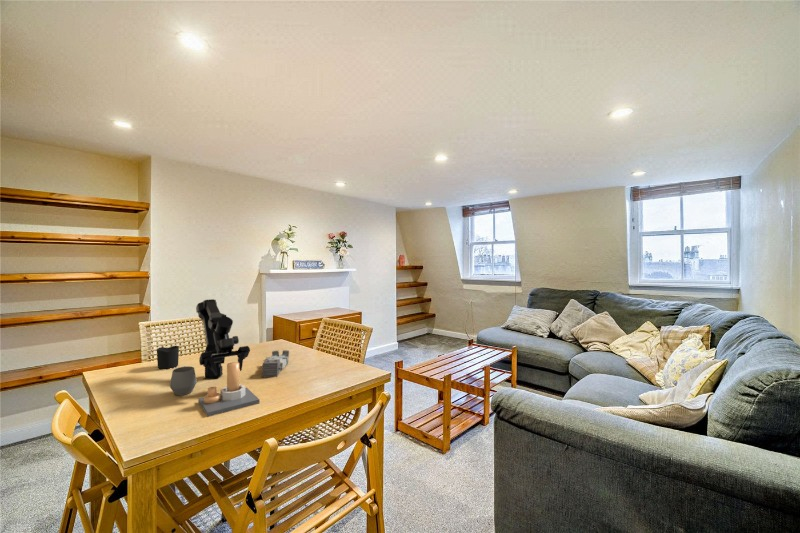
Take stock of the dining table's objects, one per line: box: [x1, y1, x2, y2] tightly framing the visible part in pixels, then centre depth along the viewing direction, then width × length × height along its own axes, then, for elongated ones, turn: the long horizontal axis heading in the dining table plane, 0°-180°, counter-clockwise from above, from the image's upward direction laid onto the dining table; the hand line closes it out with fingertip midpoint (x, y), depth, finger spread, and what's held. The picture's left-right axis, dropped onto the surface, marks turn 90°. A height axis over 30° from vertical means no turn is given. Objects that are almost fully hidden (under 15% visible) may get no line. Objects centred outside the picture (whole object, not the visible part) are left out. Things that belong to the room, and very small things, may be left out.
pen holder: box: [156, 345, 180, 370], centre depth 176 cm, size 9×9×10 cm
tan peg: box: [226, 361, 240, 392], centre depth 137 cm, size 4×4×13 cm
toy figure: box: [261, 349, 290, 378], centre depth 178 cm, size 11×7×30 cm
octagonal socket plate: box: [198, 384, 260, 417], centre depth 134 cm, size 16×18×6 cm
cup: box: [169, 365, 197, 396], centre depth 143 cm, size 10×9×10 cm
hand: (229, 372), depth 141 cm, fingers open, 9 cm apart
